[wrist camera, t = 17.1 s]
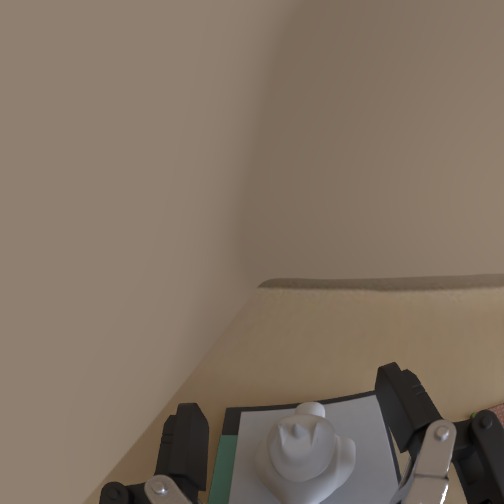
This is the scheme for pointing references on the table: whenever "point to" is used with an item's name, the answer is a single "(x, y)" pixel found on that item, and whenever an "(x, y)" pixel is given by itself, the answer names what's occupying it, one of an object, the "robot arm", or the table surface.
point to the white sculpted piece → (304, 457)
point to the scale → (344, 423)
